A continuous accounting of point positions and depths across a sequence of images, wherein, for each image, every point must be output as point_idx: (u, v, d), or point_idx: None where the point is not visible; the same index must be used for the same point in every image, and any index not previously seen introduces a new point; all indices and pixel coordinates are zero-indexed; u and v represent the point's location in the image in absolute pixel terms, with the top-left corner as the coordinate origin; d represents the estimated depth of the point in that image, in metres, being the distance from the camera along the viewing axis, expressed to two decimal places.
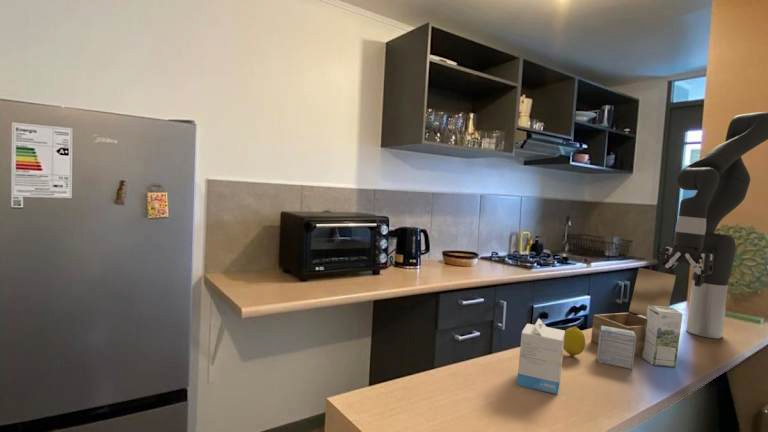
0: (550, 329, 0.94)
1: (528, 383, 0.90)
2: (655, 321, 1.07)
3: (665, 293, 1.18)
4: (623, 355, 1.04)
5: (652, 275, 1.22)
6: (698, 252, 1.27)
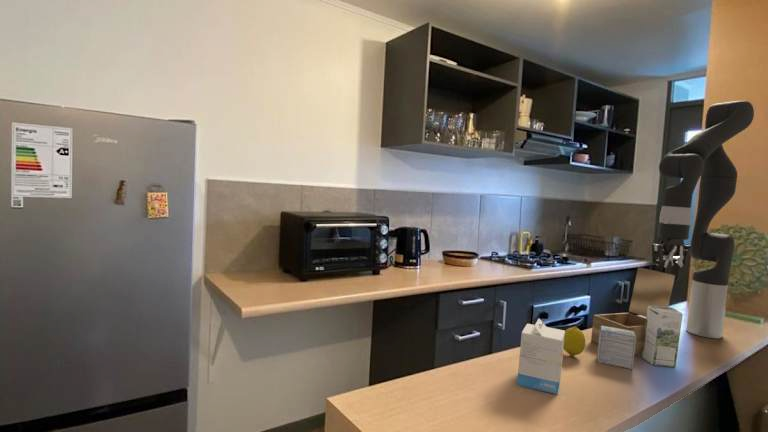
0: (550, 329, 0.94)
1: (528, 383, 0.90)
2: (655, 321, 1.07)
3: (664, 293, 1.18)
4: (623, 355, 1.04)
5: (651, 275, 1.22)
6: None
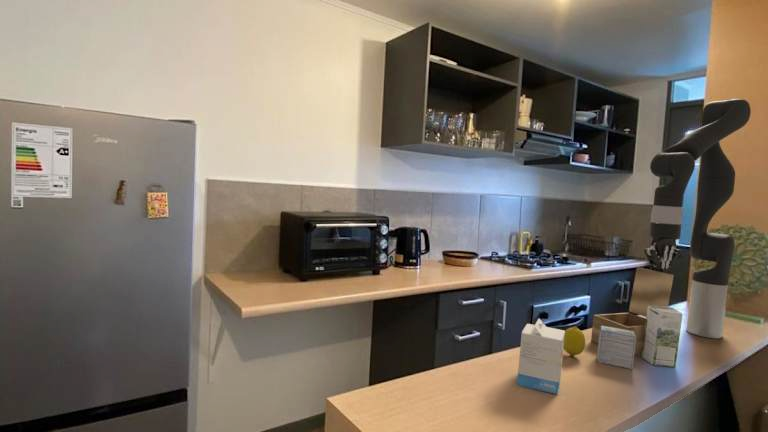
0: (550, 329, 0.94)
1: (528, 383, 0.90)
2: (655, 321, 1.07)
3: (664, 293, 1.18)
4: (623, 355, 1.04)
5: (650, 275, 1.22)
6: (675, 244, 1.22)
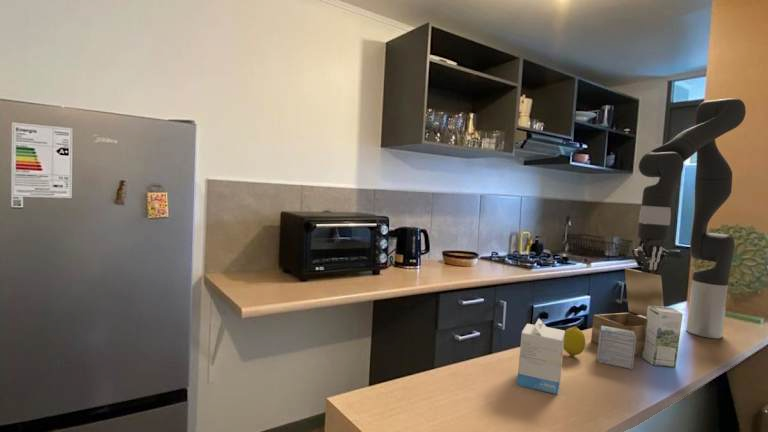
0: (550, 329, 0.94)
1: (528, 383, 0.90)
2: (655, 321, 1.07)
3: (656, 294, 1.17)
4: (623, 355, 1.04)
5: (639, 276, 1.20)
6: None
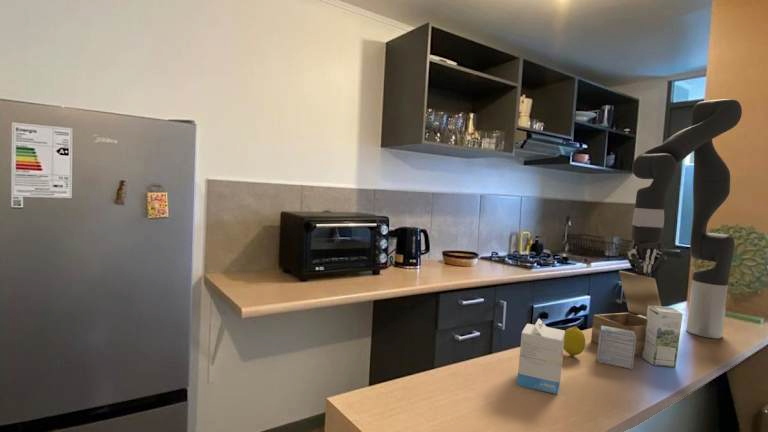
0: (550, 329, 0.94)
1: (528, 383, 0.90)
2: (655, 321, 1.07)
3: (653, 296, 1.16)
4: (623, 355, 1.04)
5: (634, 279, 1.20)
6: None
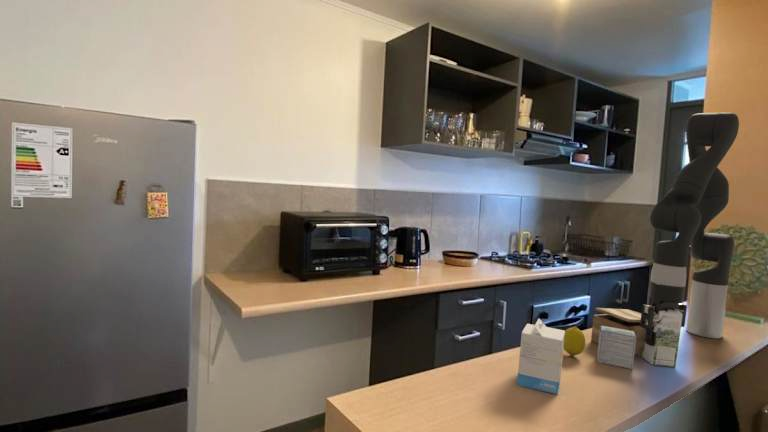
0: (550, 329, 0.94)
1: (528, 383, 0.90)
2: None
3: None
4: (623, 355, 1.04)
5: None
6: (678, 304, 1.09)
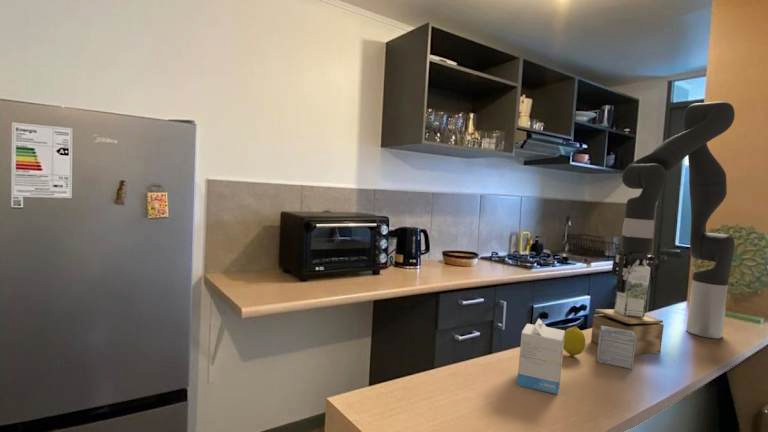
0: (550, 329, 0.94)
1: (528, 383, 0.90)
2: None
3: None
4: (623, 355, 1.04)
5: None
6: (647, 256, 1.18)
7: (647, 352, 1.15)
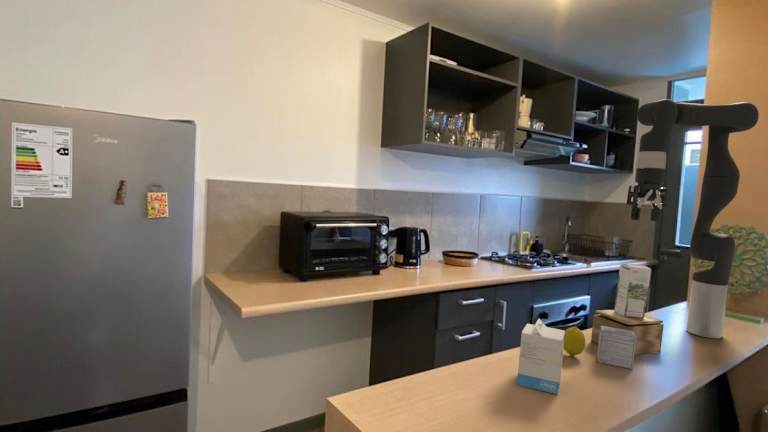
0: (550, 329, 0.94)
1: (528, 383, 0.90)
2: (627, 276, 1.17)
3: None
4: (623, 355, 1.04)
5: None
6: (659, 187, 1.28)
7: (647, 352, 1.15)
